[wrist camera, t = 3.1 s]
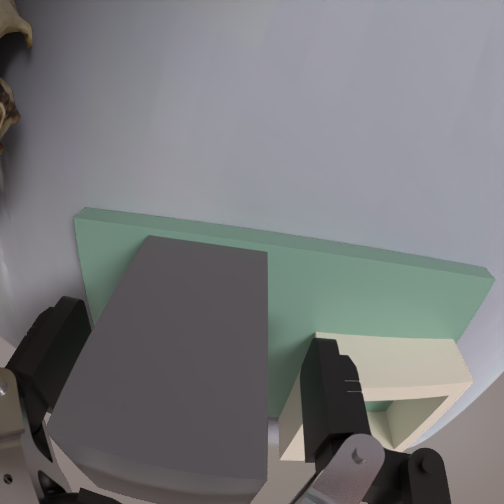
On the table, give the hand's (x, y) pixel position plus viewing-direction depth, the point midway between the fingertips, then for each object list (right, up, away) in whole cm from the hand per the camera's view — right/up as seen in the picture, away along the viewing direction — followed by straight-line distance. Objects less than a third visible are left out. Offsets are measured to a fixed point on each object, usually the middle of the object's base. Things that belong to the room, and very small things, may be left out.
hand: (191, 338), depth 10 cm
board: (+4, -2, +5) cm, 6 cm away
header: (+8, -5, +5) cm, 11 cm away
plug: (0, +1, +2) cm, 3 cm away
